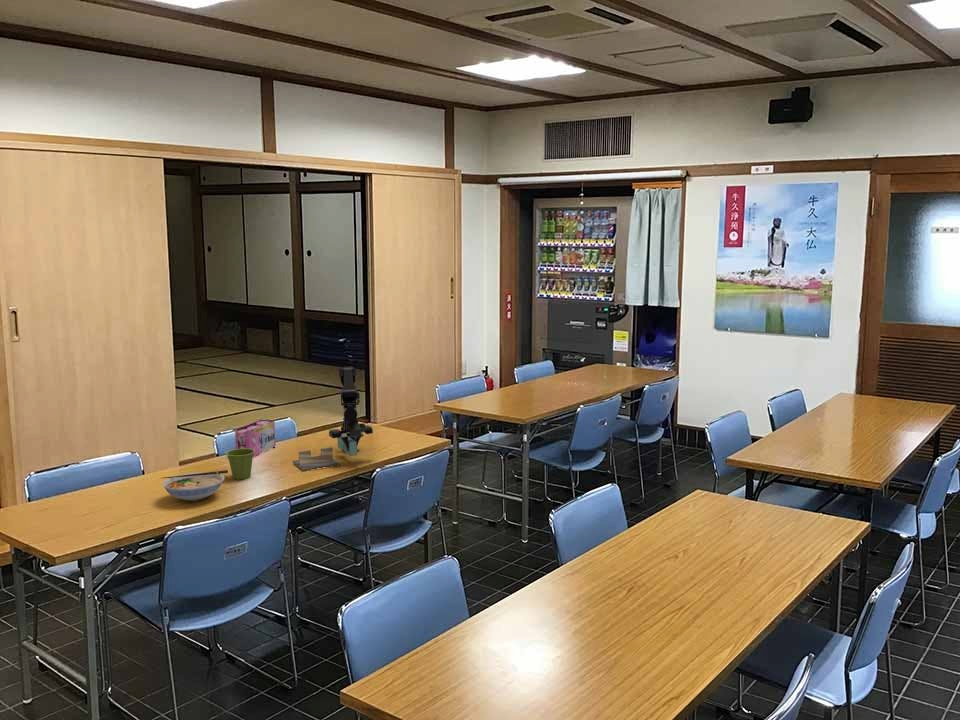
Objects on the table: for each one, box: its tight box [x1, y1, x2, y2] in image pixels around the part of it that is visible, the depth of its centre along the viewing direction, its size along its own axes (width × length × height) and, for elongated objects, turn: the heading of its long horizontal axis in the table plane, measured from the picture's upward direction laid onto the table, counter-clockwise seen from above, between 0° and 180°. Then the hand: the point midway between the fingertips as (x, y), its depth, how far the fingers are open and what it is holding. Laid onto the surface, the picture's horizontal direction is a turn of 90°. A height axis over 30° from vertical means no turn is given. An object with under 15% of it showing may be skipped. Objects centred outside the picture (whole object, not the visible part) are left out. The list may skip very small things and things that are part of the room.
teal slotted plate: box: [336, 436, 358, 456], centre depth 365 cm, size 18×3×6 cm, turn 28°
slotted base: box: [292, 446, 341, 472], centre depth 359 cm, size 16×17×7 cm
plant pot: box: [225, 448, 255, 481], centre depth 340 cm, size 12×12×11 cm
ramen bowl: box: [160, 469, 229, 502], centre depth 312 cm, size 25×23×8 cm
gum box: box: [234, 419, 277, 458], centre depth 381 cm, size 24×8×14 cm, turn 163°
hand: (351, 450), depth 359 cm, fingers closed on teal slotted plate, 3 cm apart
